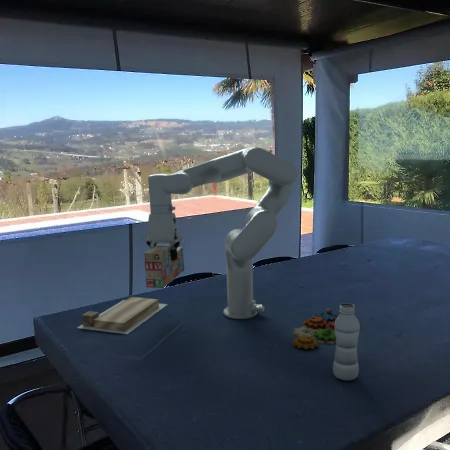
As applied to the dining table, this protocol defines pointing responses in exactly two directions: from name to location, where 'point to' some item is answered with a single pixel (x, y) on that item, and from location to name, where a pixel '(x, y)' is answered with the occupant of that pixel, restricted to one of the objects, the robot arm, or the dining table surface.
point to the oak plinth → (126, 314)
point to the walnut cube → (89, 318)
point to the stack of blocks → (162, 265)
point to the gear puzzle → (316, 330)
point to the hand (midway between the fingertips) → (164, 259)
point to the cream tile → (130, 327)
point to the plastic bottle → (346, 343)
